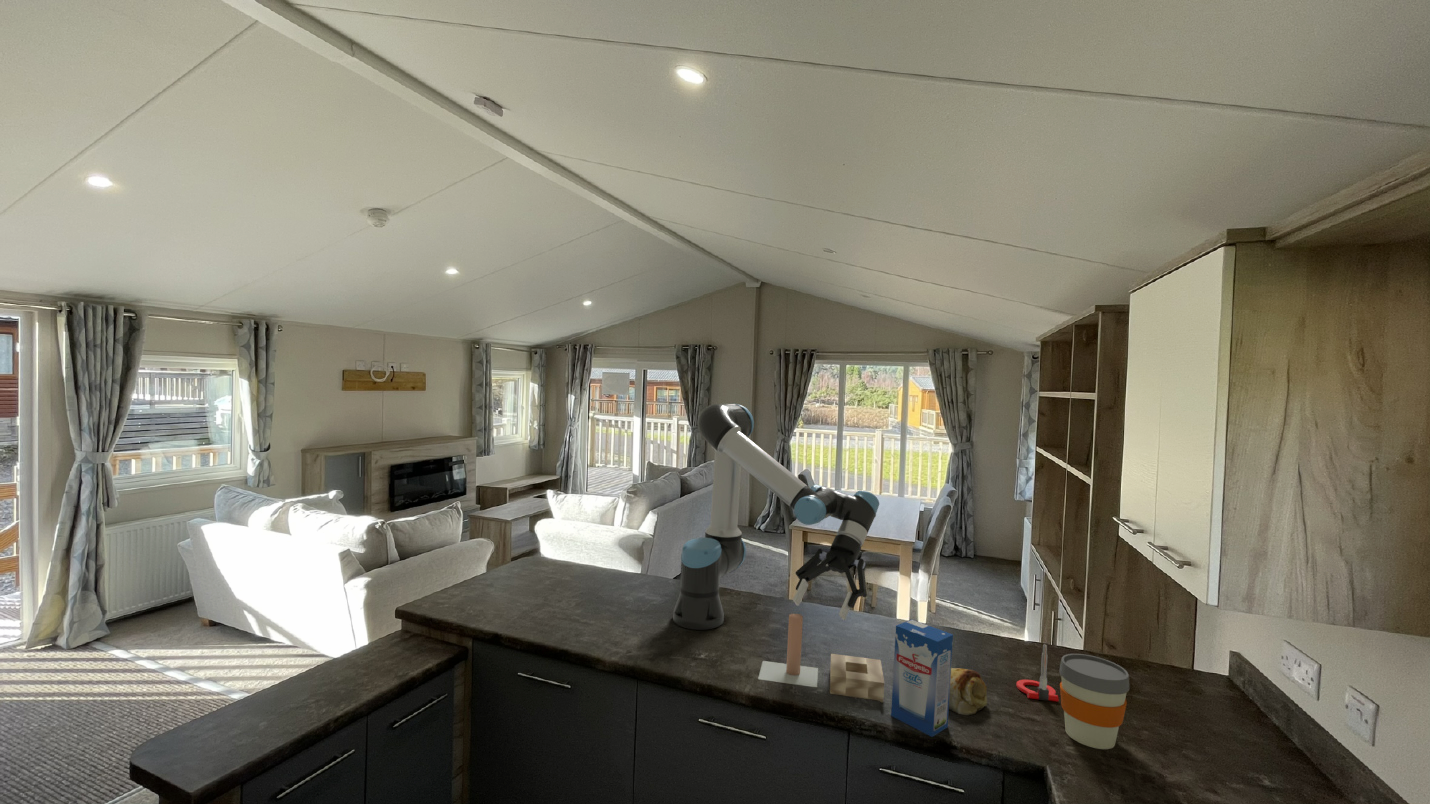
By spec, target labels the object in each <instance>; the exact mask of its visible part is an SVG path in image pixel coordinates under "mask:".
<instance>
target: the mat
mask: <svg viewBox="0 0 1430 804" xmlns="http://www.w3.org/2000/svg"><path fill="white" fill-rule="evenodd" d="M760 666H761V667H760V671H759V675H758V677H757V679H758V680H760V681H767V682H774V683H775V682H776V683H783V684H787V685H789V684H790V685H796V686H804V687H811V688H818V680H819V679H818V676H819V668H818V667H811V666H805V665H800V674H799V675H795V676H794V675H789V674H788V673H787V672H786V667H787V663H783V662H776V661H775V662H774V661H766V660H762V662H761V665H760Z"/></svg>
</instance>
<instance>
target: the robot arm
mask: <svg viewBox="0 0 1430 804" xmlns="http://www.w3.org/2000/svg"><path fill="white" fill-rule="evenodd" d="M754 420H755V419H754V417H753V414H752V413H751V412H750V410H749V409H748V408H747V407H745V406H743V405H741V404H738V403H713V404H710V405H708V406H706V407H704V409H702V410H701V412H700V414H699V416H698V419H697V429H698V432H699V434H700V435H701V437H702V439H704V440H705V441H706V443H707V444H708V445H710V447H711V448H712V449H713V450H714V458H713V459H714V461H713V464H714V465H713V479H712V497H711V511H710V512H711V513H710V524H709V526H708V527H707V528H706V529H705V532H704V533H705V534H704V537H698V538H692V539H690V540H687V541H686V542H685V543H684V544H683V546H682V549H681V554H680V560H681V561H680V581H679V582H680V586H679V587H680V588H679V589H680V590H679V595H678V598H677V600H676V603H675V607H674V608H673V612H672V613H673V614H672V615H673V616H672V620H673V622H674V624H675V625H677V626H679V627H682V628H684V629H689V630H695V631H696V630H697V631H698V630H700V631H702V630H705V631H706V630H712V629H716V628H718V627H720V626H721V625H723V624H724V618H725V615H724V614H725V613H724V608H723V606H722V602H721V599H720V581H721V580H720V579H721V578H723V577H724V576H726V575H728V574H731V573H733V572H735V571H736V570H737V569H739V567H741V566H742V564H743V563H744V561H745V560H746V556H747V547H746V543H745V541H743V538H742V536H743V532H742V531H741V530H740V528H739V526H738V523H739V522H738V521H739V507H740V506H739V505H740V504H739V503H740V491H741V489H740V487H741V476H742V475H741V471H742V468H743V469H744V470H745V471H746V472H747V473H749V474H750V475H751V476H752V477H754V478H755V479H756V480H757V481H758V482H759V483H760V484H762V485H764V487H766V488H767V489H768V490H769V491H771V493H773V494H774V495H776V496H777V497H778V498H779V499H780V500H782V501H783V502H784V503H785V504H786V505H788V507H790V508H791V509H792V510H793V512H794V515H795V517H796V520H798V522H800V523H801V524H803V525H806V526H811V525H816V524H819V523H821V522H822V521H823V520H825V519H827V518H829V517H832V518H833V519H838V520H840V521H841V523H840V526H839V528H838V530H837V532H836V535H835V536H834V539H833V541H832V542H831V545H830V549H829V551H827V552H825V551H823V550H822V549H821V548H818V550H817V551H816V553H815V554H814V555H813V556H812V557H811V558H810V559H808V560H807V561H806V562H805V563H804V564H803V565H801V567H799V569H797V570H796V571H795V575H796V577H797V578H798V582H797V583H796V586H795V591H796V592H795V594H794V596H793V599H792V601H793V603H794V604H795V605H796V606H797V607H799V606H800V605H801V602H802V600H803V598H804V595H805V594H806V592H807V589H808V587H809V582H810V581H812V580H814V579H816V578H817V577H819V576H820V575H822V574H824V573H826V572H829V571H831V572H834V573H835V572H836V573H837V572H838V573H839V574H843V573H844V574H845V576H846V579H847V581H848V584H849V587H850V589H851V591H848V592H847V594H846V596H845V598H844V601H843V602H842V606H841V607H840V611H839V613H838V615H839V617H840V618H841V620H843V621H846V619H847V617H848V614H849V612H850V609H853V608H854V607H855V605H856V603H857V600H858V599H859V598H860V597H862V598H866V597H868V594H867V592H868V591H867V584H866V574H865V571H866V567H867V563H866V562H865V561H864V559H863V558H859V559H858V556H859V555H860V552H861V551H862V546H863V545H864V543H865V541H866V538H867V536H868V533H869V531H870V529H871V526H872V524H873V522H874V520H875V519H876V516H877V512H878V509H879V506H880V501H879V499H878V497H877V496H876V495H875V494H873V493H872V492H869V491H867V490H857V491H855V493H854V495H851V494H847V493H845V492H844V493H843V492H842V491H839V490H835V489H832V488H829V487H827V486H824V485H820V484H813V485H812V486H808V485H807V484H806V483H804V482H803V481H802V480H801V479H800V478H799V477H797V476H796V475H795V474H794V473H792V472H791V471H790V470H789V469H787V468H786V467H785V466H784V465H782V464H781V463H780V462H778V461H777V460H776V459H774V457H772V455H770V454H769V453H768V452H766V451H765V450H763V449H762V448H761V447H760V446H759V445H757V444H756V443H755V442H754V441H753V440H751V439H750V438H749V437H750V436H751V434H752V433H753V431H754V427H755V421H754ZM854 566H855V567H856V569H857V570H856V571H857V579H858V587H857V584H856V582H855V580H854V577H853V574H852V571H851V569H852V568H853V567H854ZM858 588H859V589H858Z"/></svg>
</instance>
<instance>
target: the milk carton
mask: <svg viewBox="0 0 1430 804" xmlns="http://www.w3.org/2000/svg"><path fill="white" fill-rule="evenodd" d="M953 641H954V634H952V633H950V632H947V631H944V630H942V629H939V628H937V627H933V626H930V625H927V624H926V623H923V622H920V621H917V620H915V619H909V620H907V621H904V622H902V623H899V624H896V625H895V638H894V654H893V655H894V657H893V675H892V677H893V678H892V690H891V691H892V692H891V695H892V696H891V707H890V708H891V711H890V712H891V713H890V716H891V717H892V718H895V719H896V720H898V721H900V722H902V723H904V724H906V725H907V726H910V727H912V728H914V729H916V730H917V731H920V732H922V733H923V734H925V735H927V736H929V737H931V738H933V737H935V736H936V735H938V734H939V733H942V732H943V731H944V730H945V729H947V728H949V715H950V712H949V711H950V709H949V696H950V679H951V668H952V660H953V643H954V642H953Z"/></svg>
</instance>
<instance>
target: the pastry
mask: <svg viewBox="0 0 1430 804" xmlns="http://www.w3.org/2000/svg"><path fill="white" fill-rule="evenodd" d="M987 690H988V689H987V685H986V683H985V681H983V679H982V676H981V675H980V673H979V672H978V671H976V670H974V669H973V670H972V669H966V668H964V667H963V668H962V667H961V668H957V667H951V679H950V696H949V711H951V712H953V713H956V714H958V715H962V716H969V715H974V714H977V712H979V711H980V710H982V709H983V708H984V707H986V706H987V704H988V697H987V693H988V692H987Z"/></svg>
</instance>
